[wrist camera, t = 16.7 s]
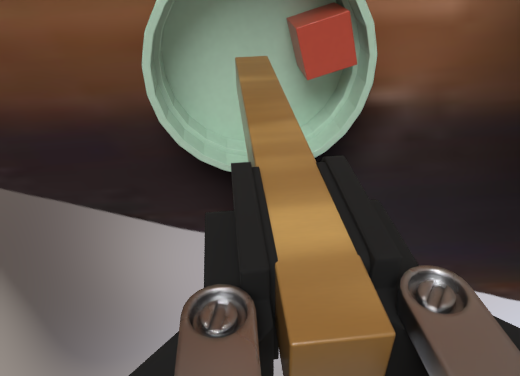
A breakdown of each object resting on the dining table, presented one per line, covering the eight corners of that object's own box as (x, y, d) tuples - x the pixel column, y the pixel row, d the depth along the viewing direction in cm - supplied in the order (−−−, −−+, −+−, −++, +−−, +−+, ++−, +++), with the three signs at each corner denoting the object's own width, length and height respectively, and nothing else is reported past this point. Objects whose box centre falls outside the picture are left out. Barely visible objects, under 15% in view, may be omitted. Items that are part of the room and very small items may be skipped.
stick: (234, 57, 19) (289, 345, 6) (267, 55, 19) (397, 333, 6) (236, 89, 20) (287, 405, 6) (267, 87, 20) (381, 394, 7)
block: (285, 17, 31) (295, 28, 28) (334, 1, 31) (350, 10, 28) (297, 65, 33) (307, 80, 30) (342, 51, 33) (357, 64, 30)
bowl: (205, -120, 26) (205, -129, 22) (396, 11, 32) (424, 23, 28) (121, 99, 34) (109, 123, 30) (288, 172, 40) (298, 201, 36)
